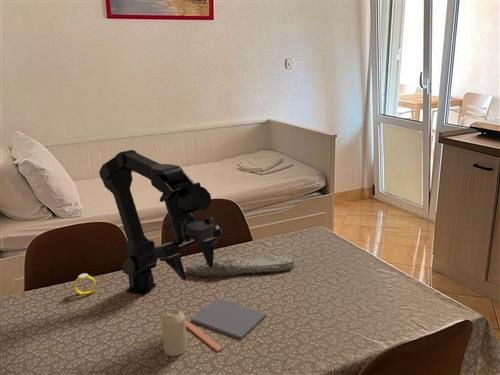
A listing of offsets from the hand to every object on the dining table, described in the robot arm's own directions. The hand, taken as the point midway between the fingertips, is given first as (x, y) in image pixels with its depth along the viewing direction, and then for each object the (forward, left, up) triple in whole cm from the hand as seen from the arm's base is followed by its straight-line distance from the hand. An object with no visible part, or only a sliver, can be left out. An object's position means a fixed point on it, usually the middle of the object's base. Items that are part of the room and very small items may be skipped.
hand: (198, 273), depth 122 cm
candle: (0, -13, -14) cm, 19 cm away
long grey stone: (-2, +31, -14) cm, 34 cm away
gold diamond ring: (-39, +1, -14) cm, 41 cm away
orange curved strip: (+3, -6, -14) cm, 15 cm away
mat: (+7, +3, -14) cm, 16 cm away
